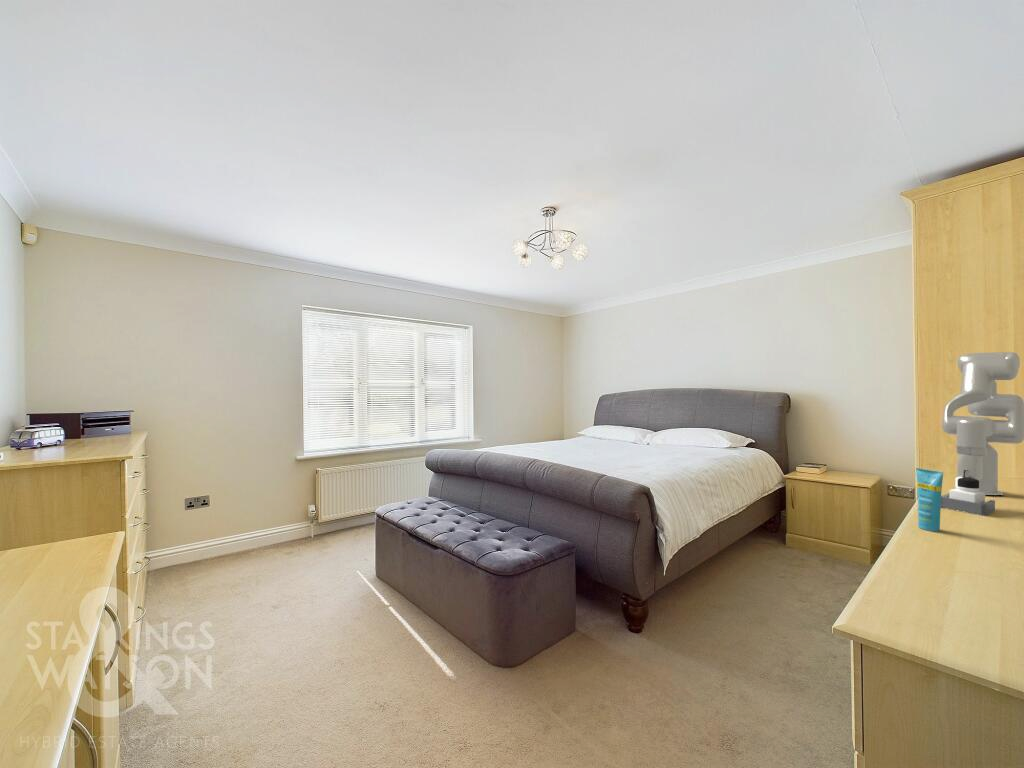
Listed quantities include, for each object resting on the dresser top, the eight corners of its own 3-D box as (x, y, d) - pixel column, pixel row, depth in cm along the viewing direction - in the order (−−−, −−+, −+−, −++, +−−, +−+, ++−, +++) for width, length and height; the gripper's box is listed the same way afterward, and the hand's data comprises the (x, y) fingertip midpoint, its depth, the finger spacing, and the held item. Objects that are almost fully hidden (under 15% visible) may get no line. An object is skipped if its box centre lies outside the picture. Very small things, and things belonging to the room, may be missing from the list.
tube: (910, 526, 139) (910, 467, 139) (920, 524, 140) (920, 467, 140) (938, 533, 131) (939, 472, 131) (948, 532, 133) (949, 471, 133)
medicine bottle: (985, 511, 155) (985, 479, 155) (975, 513, 152) (975, 480, 152) (959, 506, 161) (959, 475, 161) (949, 508, 159) (949, 476, 159)
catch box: (949, 503, 165) (949, 493, 165) (995, 511, 155) (995, 500, 155) (939, 507, 160) (939, 496, 160) (985, 516, 149) (985, 504, 149)
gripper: (963, 447, 167) (963, 493, 167) (950, 452, 159) (950, 500, 160) (991, 450, 160) (991, 498, 161) (979, 455, 153) (978, 505, 153)
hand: (970, 499), depth 160 cm, fingers closed
